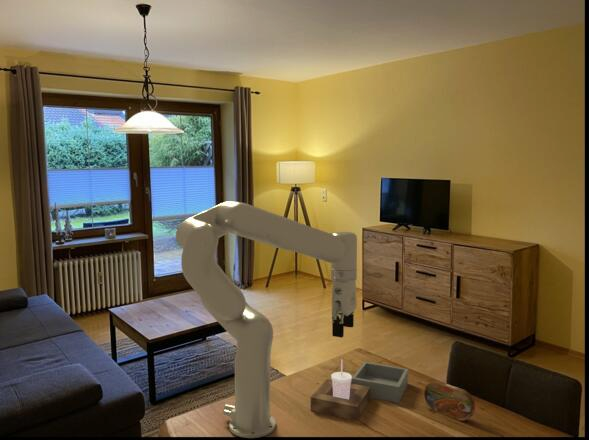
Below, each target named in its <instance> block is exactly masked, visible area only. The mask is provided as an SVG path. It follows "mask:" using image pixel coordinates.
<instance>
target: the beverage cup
mask: <svg viewBox="0 0 589 440" xmlns="http://www.w3.org/2000/svg"><path fill="white" fill-rule="evenodd" d="M343 359H344V358H343ZM343 359H342V358H341V359H340V371H336V372H333V373H331V374H330V375H331V379H330V380H332V384H333V396H334V397H339V398H344V399H349V396H350V384H351V380H352V377H353V375H351V373H349V372H347V371H346V372H345V371H343V370H344V369H343V367H344V366H343V364H344V362H343Z"/></svg>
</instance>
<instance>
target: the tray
mask: <svg viewBox="0 0 589 440" xmlns="http://www.w3.org/2000/svg"><path fill="white" fill-rule="evenodd" d="M351 383H352V384H357V385H362V386H368V387H370V399H375V400H376V399H377V400H383V401H386V402H392V403H396V404H397V403H398V404H400V402H401V400H402V397H403V395H404V393H405V391H406V389H407V387H408V385H409V368H404V367H399V366H392V365H387V364H381V363H374V362H369V361H368V362H367V361H363V362H362V364H361V365H360V366H359V368H358V369H357V370H356V371H355V373H354V374H353V375H352V380H351Z"/></svg>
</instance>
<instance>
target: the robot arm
mask: <svg viewBox="0 0 589 440" xmlns="http://www.w3.org/2000/svg"><path fill="white" fill-rule="evenodd" d="M228 234H234V235H235V236H239V237H241V238H245V239H248V240H251V241H254V242H258V243H261V244H264V245H267V246H270V247H273V248H277V249H280V250H284V251H289V252H294V253H299V254H301V255H304V256H308V257H311V258H312V259H316V260H320V261H323V262H326V263H330V280H331V281H332V290H331V319H332V321H331V323H332V326H331V327H332V330H331V331H332V333H331V334H332V337H337V338H344V334H345V333H344V330H345V329H344V328H353V327H354V326H355V325H354V324H355V323H354V322H355V321H354V319H355V316H354V314H355V313H354V312H355V310H356V309H357V305H358V304H357V302H358V301H357V285H356V281H357V277H358V272H357V271H358V269H357V266H358V265H357V264H358V260H357V258H358V236H357V234H356V233H354V232H350V231H337V232H336V231H335V232H332V233H331V232H328V231H324V230H320V229H319V228H316V227H312V226H310V225H306V224H303V223H301V222H298V221H296V220H294V219H292V218H288V217H286V216H283V215H280V214H277V213H274V212H271V211H267V210H266V209H263V208H259V207H257V206H254V205H252V204H248V203H245V202H241V201H233V200H227V201H224V202H220V203H219V204H217V205H215V206H213V207H211V208H208V209H206V210H204V211H202V212H200V213H197V214H195V215H193V216H190V217H188V218H186V219H185V220H183V221H182V222H181V223H180V224H179V225H178V227H177V228H176V232H175V239H176V242H177V243H178V245H179V246H180V247H181V248H182V253H181V257H180V258H181V261H180V262H181V270H182V271H181V272H182V274H183V276H184V278H185V280H186V281H187V283H188V284H189V285H190V287H191V288H192V289H193V290H194V291H195V292H196V293H197V295H198V296H199V297H200V301H201V303H202V305H203V307H204V308H205V309H206V310H207V311H208V313H209V314H210V315H211V316H212V317H213V318H214V319H215V320H216V321H217V322H218V324H219V325H221V327H222V328H223V329H224V330H225V331H226V332H227V333H228V334H229V335H230V336H231V337H232V338H234V340H235V341H236V342H237V347H236V352H235V357H234V405H233V404H230V403H229V404H228V403H225V405H224V406H223V413H222V414H223V415H224V416H227V417H229V418H230V420H229V422H228V428H229V431H230V432H231V433H232V434H233V435H234V436H237V437H240V438H244V439H245V438H246V439H256V438H263V437H265V436H267V435H270V434H271V433H273V432H274V430H275V428H276V424H277V423H276V421H277V420H276V418H274V416H272V415H271V355H272V354H271V353H272V352H271V351H272V345H273V341H274V340H273V339H274V329H273V326H272V324H271V323H272V322H270V319H269V318H268V317H267V316H265V315H264V314H262V313H261V312H260V311H258V310H256V309H254V307H252V306H251V305H250V304H249V303H248V302H247V301H246V297H245V295H244V292H242V290H241V288H240V287H238V286H237V285H236V284H235V283H234V282H233V281H232V279H231V278H230V277H229V276H228V275H227V274H226V273H225V272H224V270H223V269H222V268H221V267H220V265H219V264H218V263H217V259H216V253H217V249H218V245H219V239H220V238H221V237H223V236H225V235H228Z"/></svg>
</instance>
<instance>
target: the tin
mask: <svg viewBox="0 0 589 440" xmlns="http://www.w3.org/2000/svg"><path fill="white" fill-rule="evenodd" d="M423 391H424V393H423V396H424V400H425V402H426V404H427V405H428V407H429V408H430V409H431V410H433V411H434V412H436V413H439V414H441V415H444V416H446V417H449V418H451V419H454V420H456V421H461V422H463V421H466V420H468V419H470V418H472V416H474V414H475V412H476V403H475V399H474V398H473V396H472V395H471V393H469V392H468V391H467V390H466V389H463V388H460V387H457V386H454V385H451V384H449V383H446V382H443V381H433V382H429V383H428V384H427V385H426V386H425V388H424V390H423Z"/></svg>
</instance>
